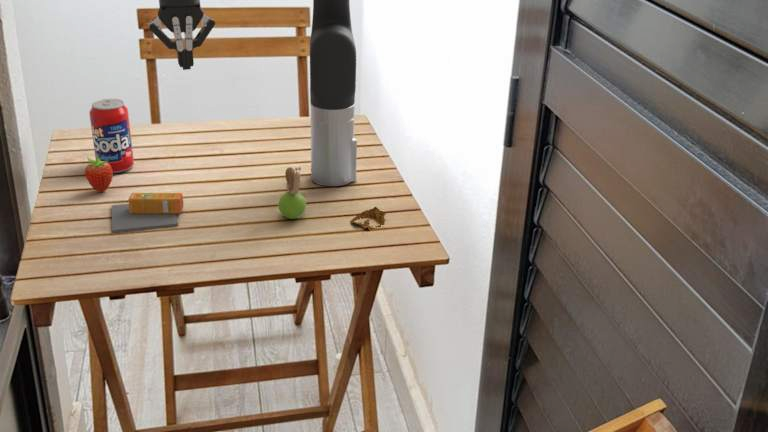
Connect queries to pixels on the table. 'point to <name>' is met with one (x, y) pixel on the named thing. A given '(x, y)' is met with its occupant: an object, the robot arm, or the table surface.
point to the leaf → (370, 214)
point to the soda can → (112, 133)
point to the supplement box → (155, 203)
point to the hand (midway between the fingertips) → (186, 68)
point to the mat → (139, 219)
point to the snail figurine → (292, 196)
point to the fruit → (99, 174)
